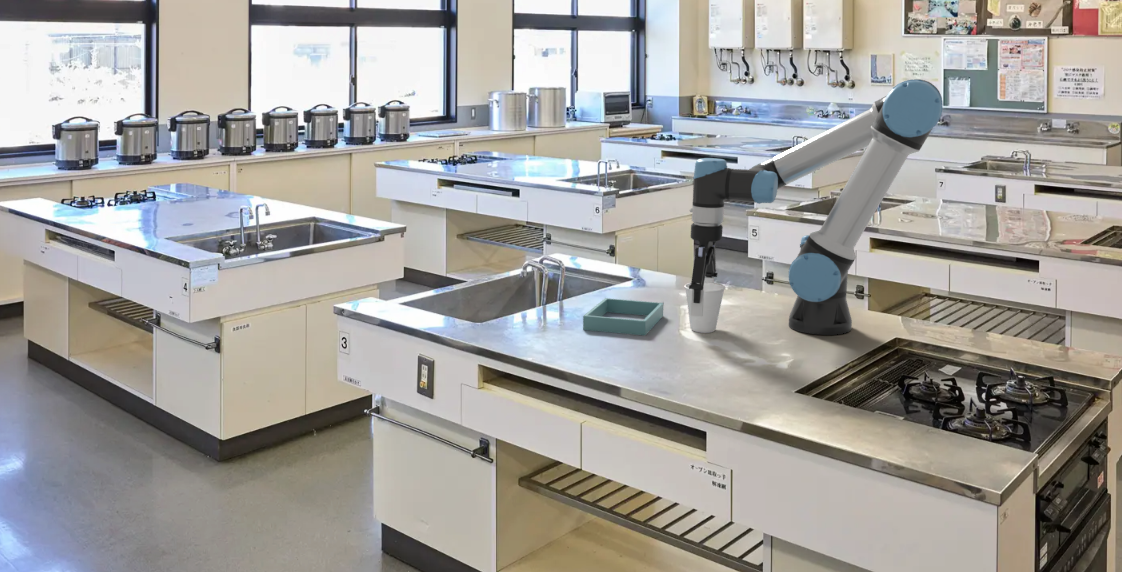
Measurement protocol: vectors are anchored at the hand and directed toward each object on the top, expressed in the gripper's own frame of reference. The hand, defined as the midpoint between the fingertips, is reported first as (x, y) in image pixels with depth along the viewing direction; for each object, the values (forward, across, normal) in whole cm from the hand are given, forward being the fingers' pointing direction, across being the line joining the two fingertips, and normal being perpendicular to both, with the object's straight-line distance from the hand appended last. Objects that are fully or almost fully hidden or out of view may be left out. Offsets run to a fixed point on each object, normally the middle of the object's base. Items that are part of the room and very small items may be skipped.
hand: (701, 309), depth 243 cm
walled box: (+6, 0, -19) cm, 20 cm away
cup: (+5, 0, +1) cm, 5 cm away
